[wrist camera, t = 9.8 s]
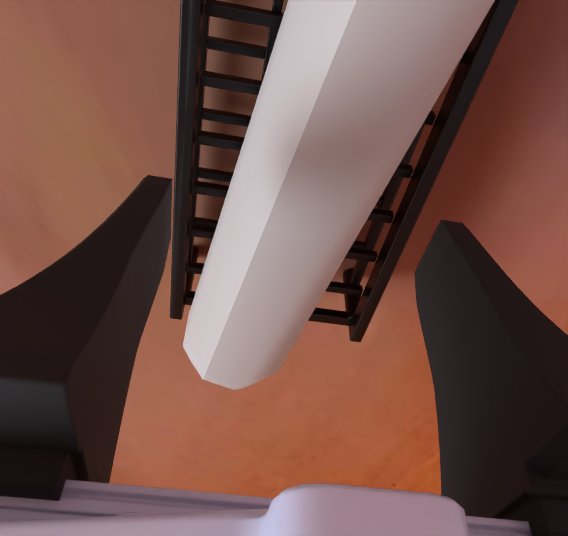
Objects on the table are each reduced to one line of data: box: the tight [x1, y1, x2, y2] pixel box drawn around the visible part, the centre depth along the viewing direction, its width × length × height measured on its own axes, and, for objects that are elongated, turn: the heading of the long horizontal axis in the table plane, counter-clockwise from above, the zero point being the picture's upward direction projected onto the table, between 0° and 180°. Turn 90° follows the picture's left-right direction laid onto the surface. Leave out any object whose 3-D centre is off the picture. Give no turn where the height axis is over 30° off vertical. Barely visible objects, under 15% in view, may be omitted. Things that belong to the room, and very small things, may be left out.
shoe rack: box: [170, 0, 518, 342], centre depth 21 cm, size 10×22×4 cm, turn 170°
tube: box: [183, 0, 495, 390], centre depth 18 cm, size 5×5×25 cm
